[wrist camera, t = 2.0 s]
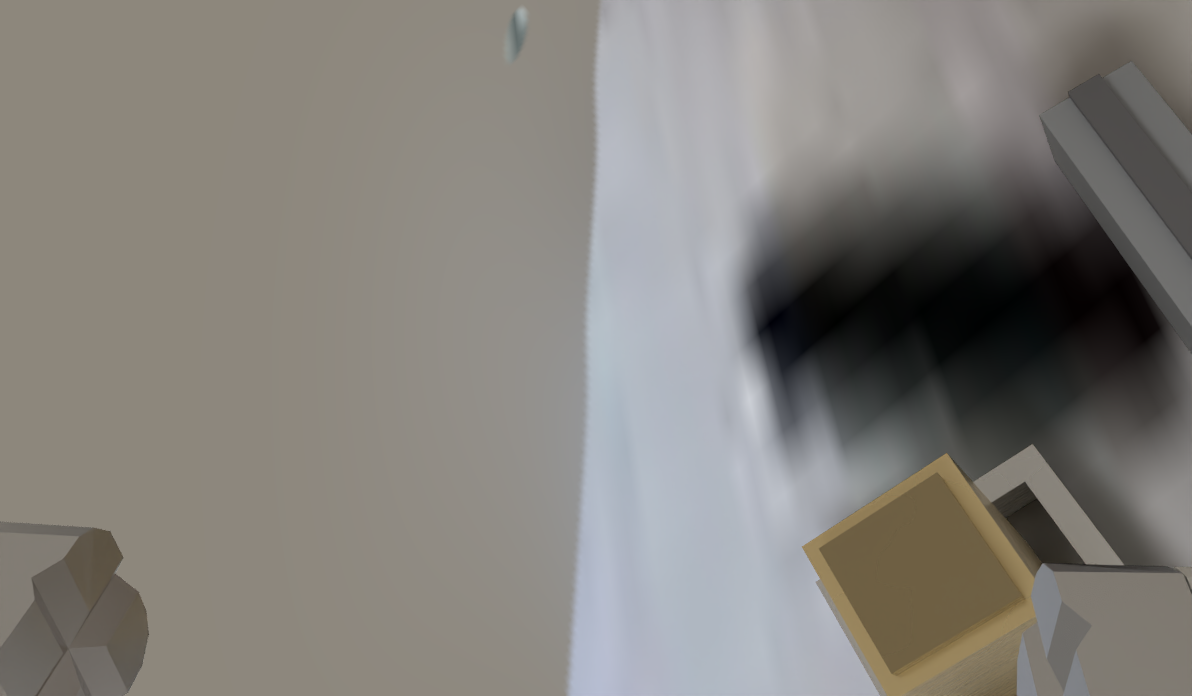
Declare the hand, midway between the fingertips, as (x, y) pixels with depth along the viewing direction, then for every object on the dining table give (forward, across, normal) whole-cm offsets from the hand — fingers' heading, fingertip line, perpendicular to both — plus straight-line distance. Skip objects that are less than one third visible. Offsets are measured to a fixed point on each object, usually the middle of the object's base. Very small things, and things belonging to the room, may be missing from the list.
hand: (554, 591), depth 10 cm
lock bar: (+16, -9, +19) cm, 27 cm away
